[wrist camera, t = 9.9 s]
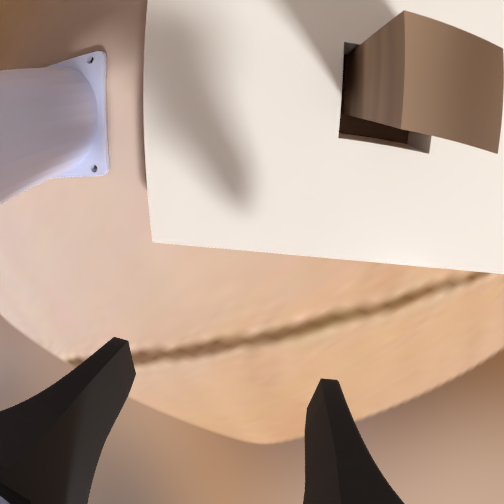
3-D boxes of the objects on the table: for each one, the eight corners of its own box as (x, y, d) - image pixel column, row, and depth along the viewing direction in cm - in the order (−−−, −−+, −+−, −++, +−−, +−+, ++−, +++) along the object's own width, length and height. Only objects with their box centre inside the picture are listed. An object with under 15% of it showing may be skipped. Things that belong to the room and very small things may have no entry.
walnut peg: (343, 114, 14) (400, 129, 6) (345, 57, 13) (404, 10, 5) (399, 123, 14) (497, 154, 6) (403, 67, 12) (503, 48, 4)
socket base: (172, 220, 18) (152, 242, 16) (175, -33, 11) (154, -51, 8) (494, 252, 16) (515, 275, 13) (523, 33, 8) (550, 30, 6)
